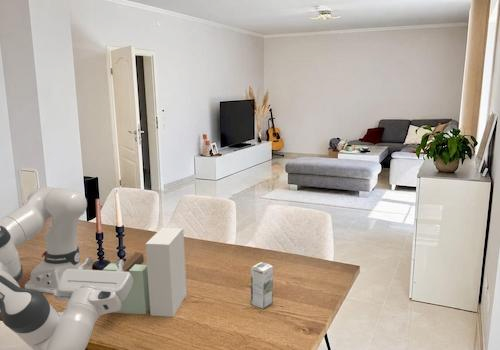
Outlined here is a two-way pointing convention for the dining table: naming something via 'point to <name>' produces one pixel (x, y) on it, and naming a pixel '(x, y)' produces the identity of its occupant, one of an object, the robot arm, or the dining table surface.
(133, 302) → the sage notched plate
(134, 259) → the walnut bar
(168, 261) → the white stand
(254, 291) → the syrup box
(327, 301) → the dining table surface
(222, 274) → the dining table surface
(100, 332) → the dining table surface
